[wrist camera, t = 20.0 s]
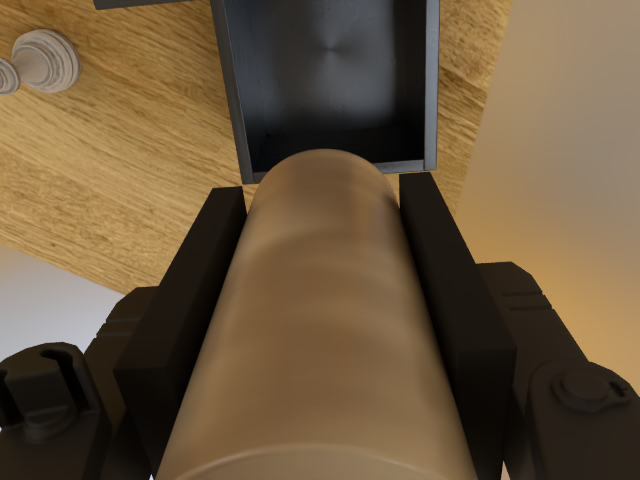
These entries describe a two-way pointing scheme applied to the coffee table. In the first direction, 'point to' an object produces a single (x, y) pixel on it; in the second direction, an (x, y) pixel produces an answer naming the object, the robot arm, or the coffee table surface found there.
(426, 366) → the tan wooden cylinder
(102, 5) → the handled dark lid
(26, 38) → the chess piece
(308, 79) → the dark boxy piece
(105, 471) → the robot arm
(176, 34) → the coffee table surface
